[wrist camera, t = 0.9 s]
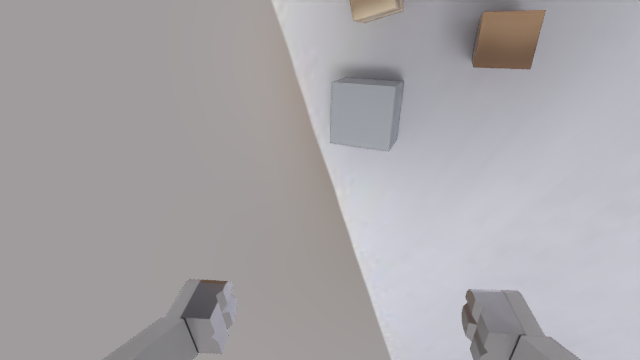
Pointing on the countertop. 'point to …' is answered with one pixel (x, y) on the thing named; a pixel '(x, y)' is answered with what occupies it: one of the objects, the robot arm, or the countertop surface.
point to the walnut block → (507, 39)
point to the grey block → (365, 112)
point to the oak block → (374, 9)
